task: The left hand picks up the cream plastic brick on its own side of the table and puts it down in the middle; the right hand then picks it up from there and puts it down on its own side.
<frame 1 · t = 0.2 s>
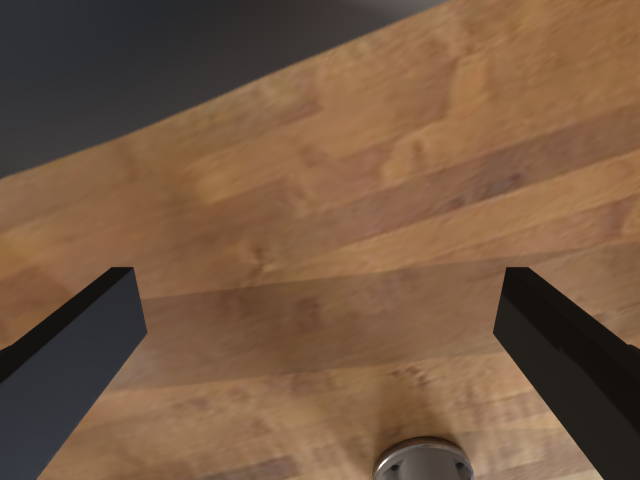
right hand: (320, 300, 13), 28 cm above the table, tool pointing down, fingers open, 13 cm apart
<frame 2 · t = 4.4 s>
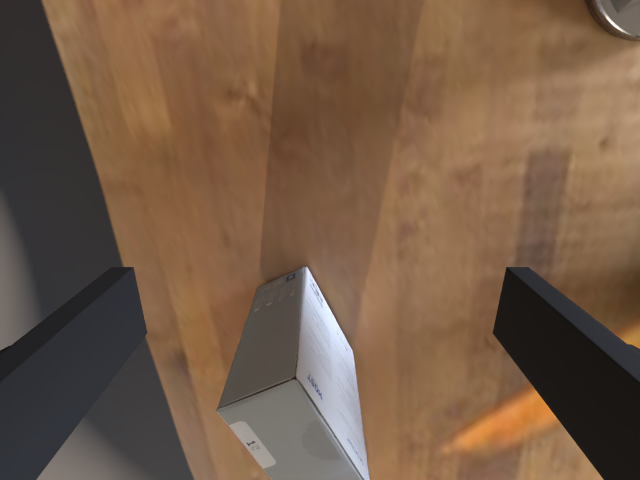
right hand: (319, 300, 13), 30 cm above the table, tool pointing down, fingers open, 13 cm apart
hard drive box: (307, 320, 49), on the table
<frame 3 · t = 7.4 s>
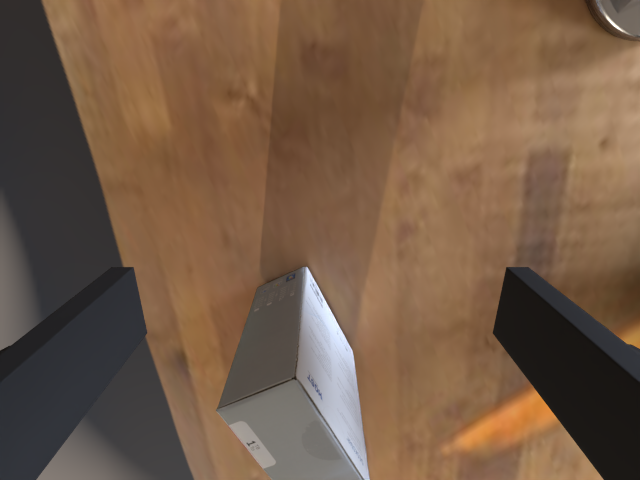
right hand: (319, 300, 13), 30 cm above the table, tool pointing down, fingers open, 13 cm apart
hard drive box: (307, 320, 49), on the table
when the left hand's fingers open (4 cm above the table, at t = 10.7 s): brick drops 1 cm, on the table.
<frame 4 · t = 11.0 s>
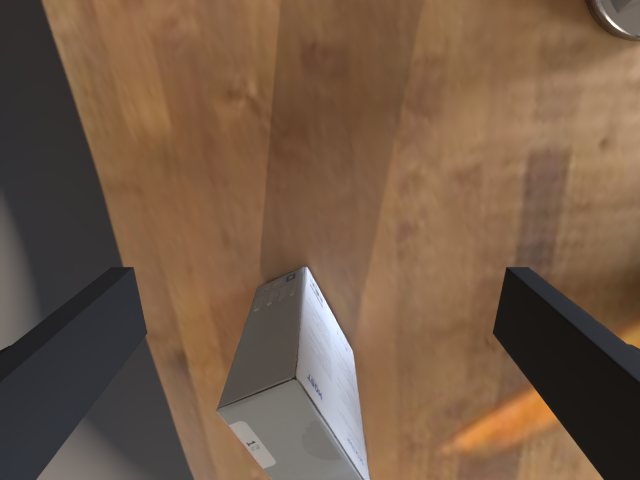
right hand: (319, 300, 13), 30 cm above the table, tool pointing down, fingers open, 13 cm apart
hard drive box: (307, 320, 49), on the table
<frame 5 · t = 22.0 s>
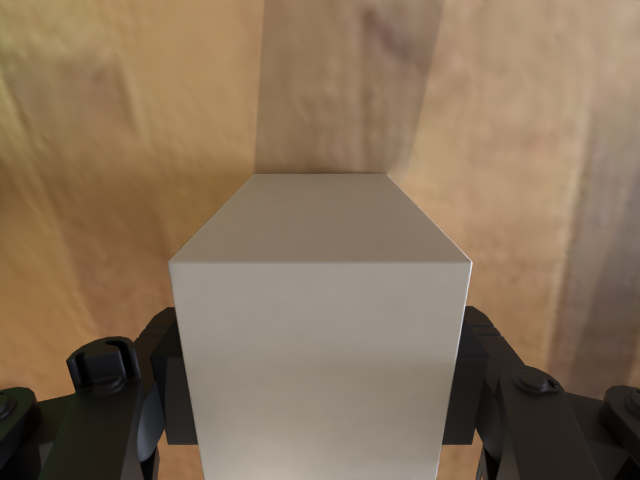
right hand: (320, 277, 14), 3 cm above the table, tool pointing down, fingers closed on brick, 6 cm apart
brick: (319, 247, 17), on the table, touching right hand
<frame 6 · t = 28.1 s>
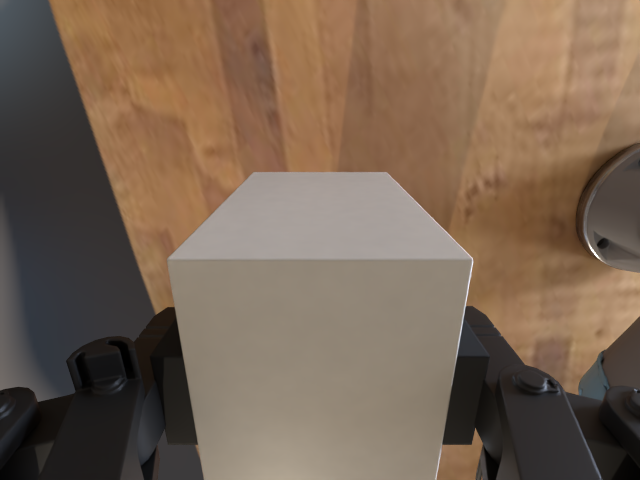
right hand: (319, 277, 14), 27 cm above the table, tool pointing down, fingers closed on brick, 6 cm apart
brick: (320, 246, 17), point 24 cm above the table, touching right hand
when the right hand's fingers open (4 cm above the table, at t = 34.2 s): brick drops 1 cm, on the table.
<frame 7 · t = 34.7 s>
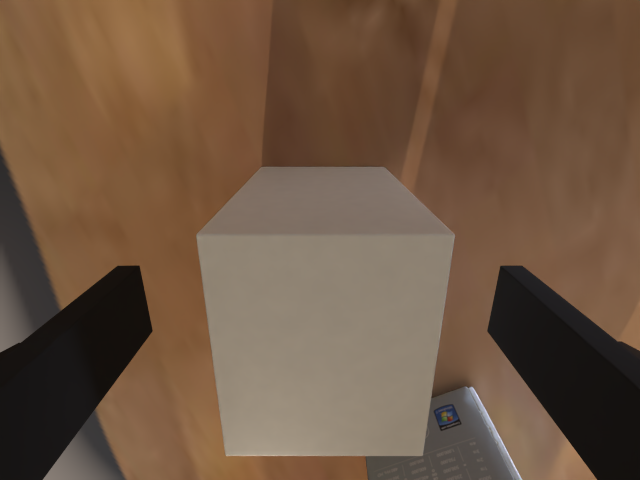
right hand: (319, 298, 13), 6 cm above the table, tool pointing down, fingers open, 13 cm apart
brick: (322, 236, 19), on the table
hard drive box: (449, 473, 25), on the table
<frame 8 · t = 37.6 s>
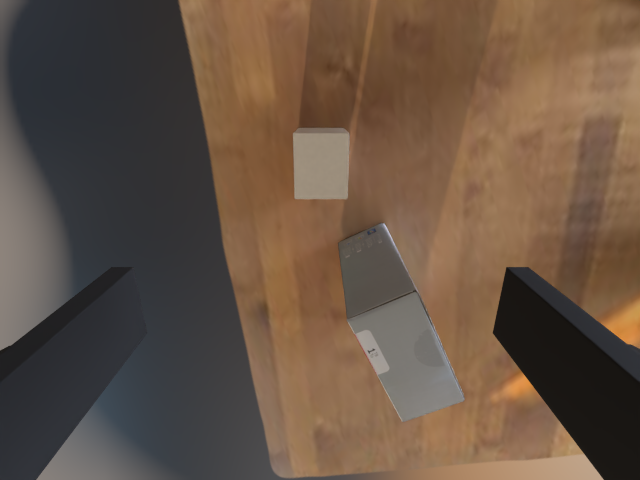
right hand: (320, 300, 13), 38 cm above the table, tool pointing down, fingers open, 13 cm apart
brick: (321, 155, 48), on the table
hard drive box: (379, 273, 55), on the table
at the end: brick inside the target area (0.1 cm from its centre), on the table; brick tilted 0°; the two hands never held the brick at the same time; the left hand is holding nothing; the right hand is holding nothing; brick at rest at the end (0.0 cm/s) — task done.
